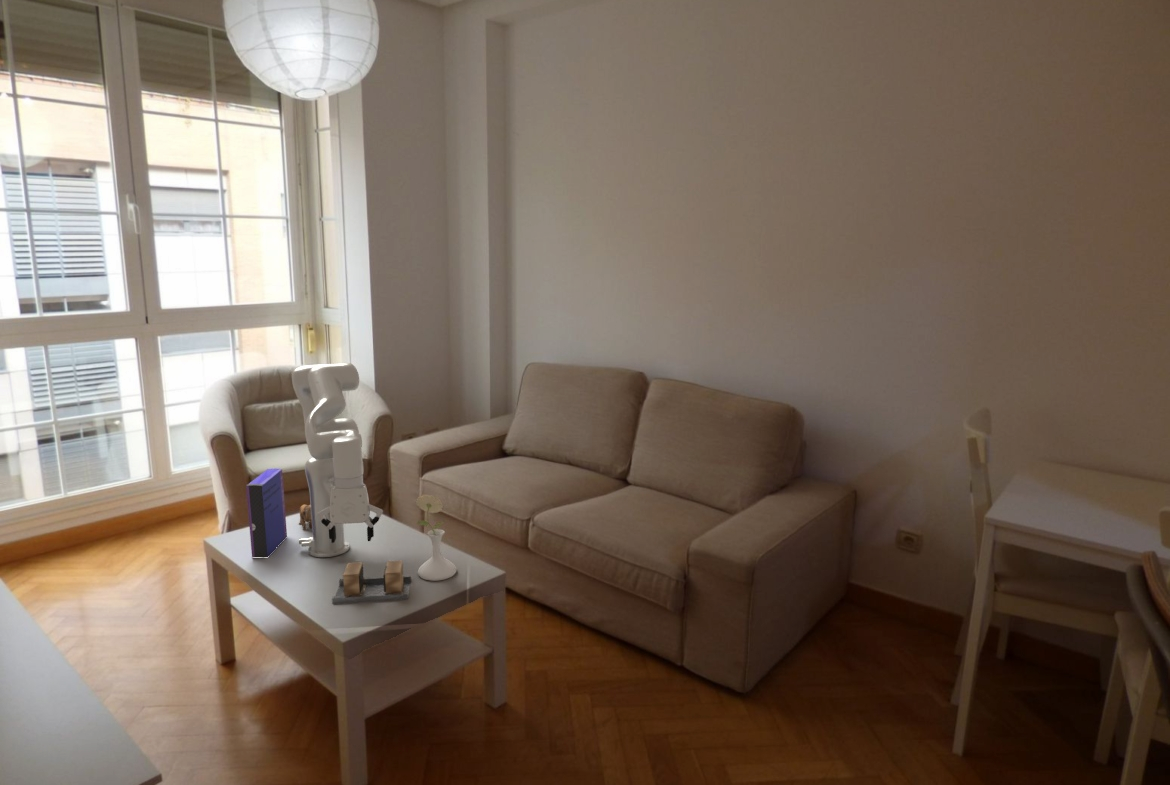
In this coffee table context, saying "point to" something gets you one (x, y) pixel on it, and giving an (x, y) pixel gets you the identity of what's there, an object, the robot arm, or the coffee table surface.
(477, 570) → the coffee table surface
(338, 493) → the robot arm
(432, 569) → the flower in vase
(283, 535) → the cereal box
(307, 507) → the lion figurine
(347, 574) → the block
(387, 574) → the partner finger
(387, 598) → the gray tray
